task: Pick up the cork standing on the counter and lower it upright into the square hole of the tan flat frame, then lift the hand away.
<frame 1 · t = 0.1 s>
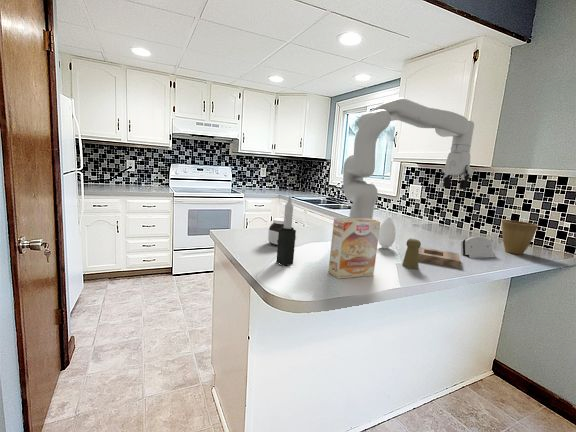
hand: (454, 188, 143), 31 cm above the table, tool pointing down, fingers open, 9 cm apart
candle: (284, 263, 117), on the table
grey piece: (475, 255, 152), on the table
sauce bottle: (384, 248, 151), on the table
cork: (410, 266, 125), on the table
plant pot: (513, 252, 163), on the table
spread jar: (281, 244, 144), on the table
tan flat frame: (432, 259, 138), on the table
coffeecake box: (350, 274, 111), on the table
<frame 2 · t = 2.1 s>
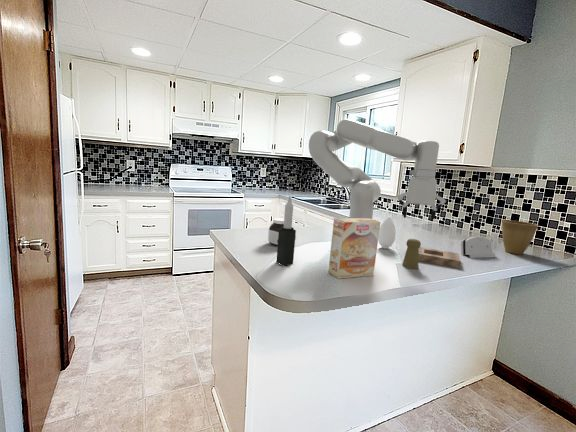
hand: (417, 219, 122), 19 cm above the table, tool pointing down, fingers open, 9 cm apart
nothing on the table moved.
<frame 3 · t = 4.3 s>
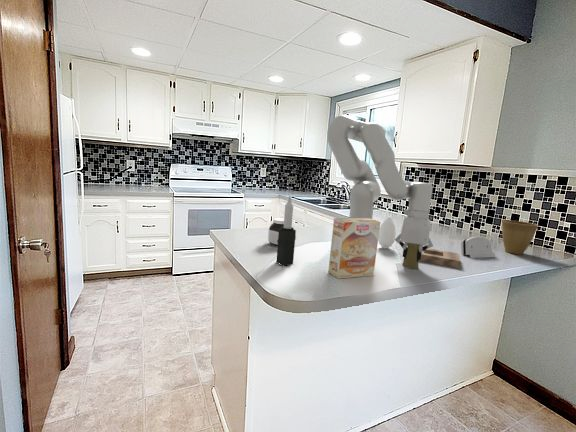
hand: (411, 259, 125), 3 cm above the table, tool pointing down, fingers closed on cork, 4 cm apart
cork: (410, 266, 125), on the table, touching gripper
everything else where it was.
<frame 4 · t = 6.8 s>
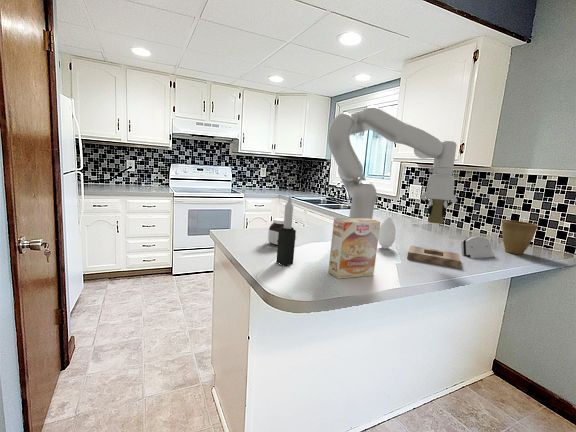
hand: (436, 215, 132), 20 cm above the table, tool pointing down, fingers closed on cork, 4 cm apart
cork: (435, 222, 133), point 17 cm above the table, touching gripper
everything else where it was.
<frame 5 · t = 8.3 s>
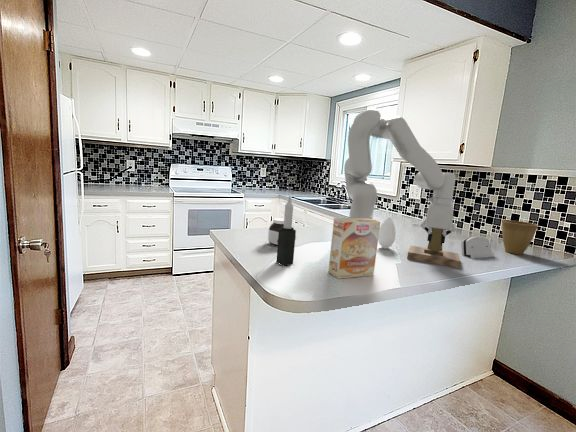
hand: (435, 243, 137), 7 cm above the table, tool pointing down, fingers closed on cork, 4 cm apart
cork: (434, 249, 137), point 4 cm above the table, touching gripper
everything else where it was.
when the fingers open (4 cm above the table, at t = 9.3 s): cork stays where it is, resting in tan flat frame.
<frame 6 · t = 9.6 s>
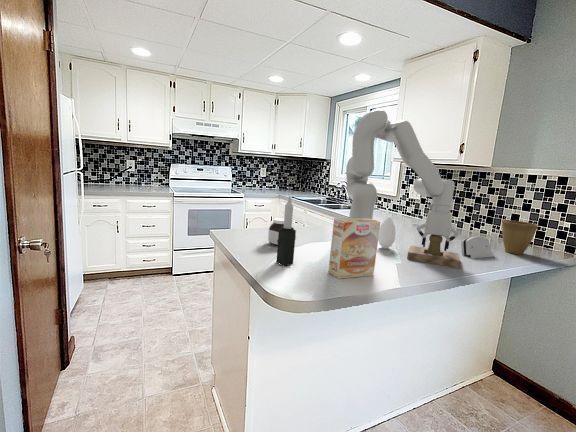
hand: (434, 248, 137), 5 cm above the table, tool pointing down, fingers open, 8 cm apart
cork: (432, 259, 138), resting in tan flat frame
everything else where it was.
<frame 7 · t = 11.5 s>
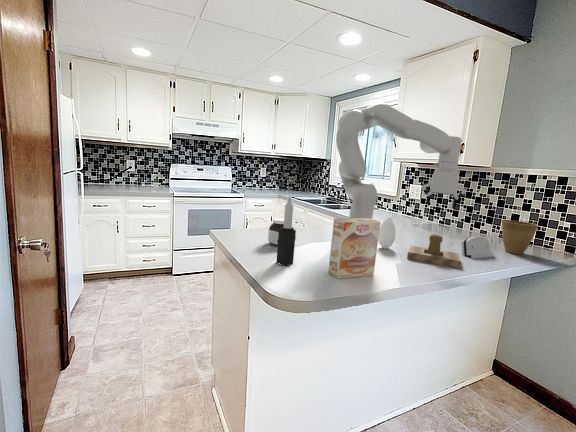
hand: (440, 207, 135), 23 cm above the table, tool pointing down, fingers open, 9 cm apart
nothing on the table moved.
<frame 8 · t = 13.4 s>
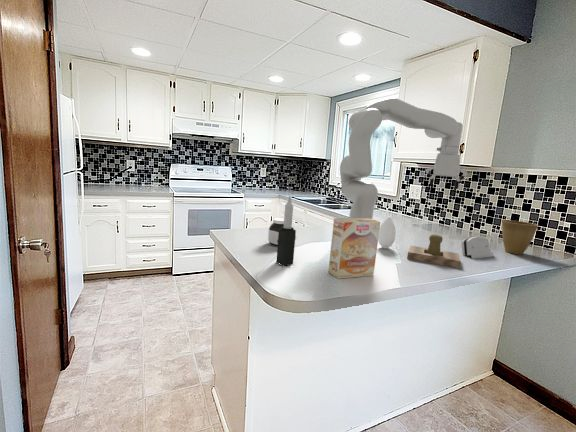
hand: (443, 189, 144), 30 cm above the table, tool pointing down, fingers open, 9 cm apart
nothing on the table moved.
at the end: cork 0.2 cm off-centre on the tan flat frame, point 0.0 cm above the tan flat frame's base; cork tilted 0° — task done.
